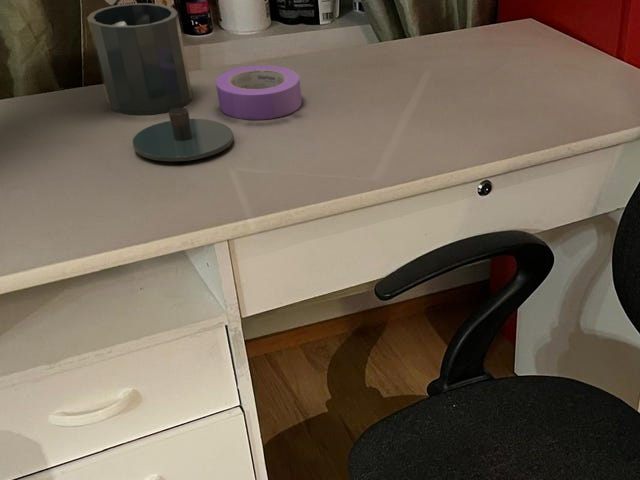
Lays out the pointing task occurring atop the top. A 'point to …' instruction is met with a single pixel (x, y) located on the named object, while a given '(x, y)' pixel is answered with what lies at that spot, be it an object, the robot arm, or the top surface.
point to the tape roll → (259, 92)
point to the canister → (141, 58)
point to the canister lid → (182, 138)
